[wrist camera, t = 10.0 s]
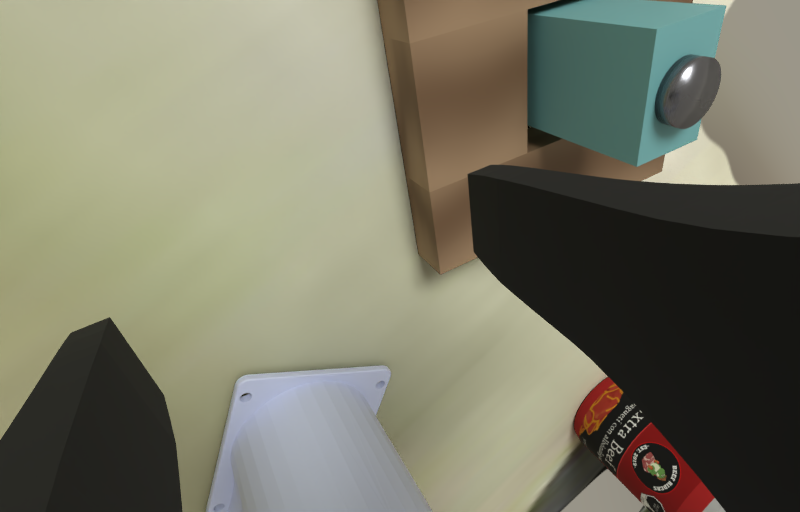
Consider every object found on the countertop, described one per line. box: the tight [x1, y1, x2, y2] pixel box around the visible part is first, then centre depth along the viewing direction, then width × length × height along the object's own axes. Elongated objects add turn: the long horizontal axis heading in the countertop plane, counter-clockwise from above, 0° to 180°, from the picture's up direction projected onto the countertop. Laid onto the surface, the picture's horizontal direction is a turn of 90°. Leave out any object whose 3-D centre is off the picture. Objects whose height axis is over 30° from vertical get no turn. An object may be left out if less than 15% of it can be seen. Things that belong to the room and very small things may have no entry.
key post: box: [527, 0, 726, 167], centre depth 18 cm, size 4×3×8 cm
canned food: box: [574, 377, 726, 512], centre depth 37 cm, size 8×8×11 cm
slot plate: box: [377, 0, 693, 274], centre depth 20 cm, size 14×14×2 cm
